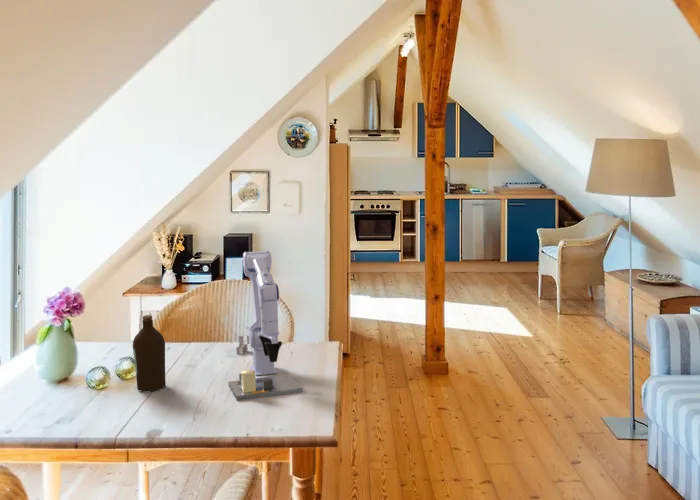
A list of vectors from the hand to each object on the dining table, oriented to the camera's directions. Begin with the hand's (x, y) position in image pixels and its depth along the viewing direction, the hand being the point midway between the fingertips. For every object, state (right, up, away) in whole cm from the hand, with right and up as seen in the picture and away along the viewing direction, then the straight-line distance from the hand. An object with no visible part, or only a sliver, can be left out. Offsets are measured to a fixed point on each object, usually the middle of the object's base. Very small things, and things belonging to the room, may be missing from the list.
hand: (270, 358), depth 257 cm
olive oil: (-41, -10, +1) cm, 42 cm away
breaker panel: (-2, -10, -2) cm, 10 cm away
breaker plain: (-9, -8, 0) cm, 12 cm away
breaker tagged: (-1, -9, -6) cm, 11 cm away
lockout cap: (-7, -9, -8) cm, 14 cm away
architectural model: (-10, -4, +37) cm, 39 cm away
